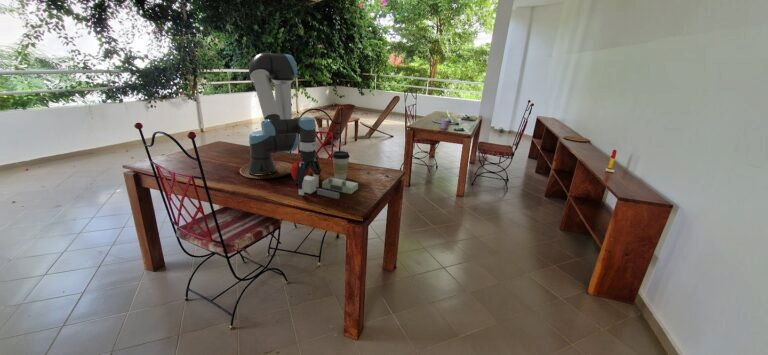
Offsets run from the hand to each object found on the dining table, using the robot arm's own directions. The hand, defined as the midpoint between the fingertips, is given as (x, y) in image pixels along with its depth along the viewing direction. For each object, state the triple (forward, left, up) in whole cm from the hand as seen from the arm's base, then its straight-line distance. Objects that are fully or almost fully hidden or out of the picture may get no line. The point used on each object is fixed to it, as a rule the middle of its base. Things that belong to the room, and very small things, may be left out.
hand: (308, 190), depth 168 cm
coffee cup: (+5, +24, 0) cm, 24 cm away
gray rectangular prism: (0, 0, 0) cm, 0 cm away
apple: (-10, +7, 0) cm, 12 cm away
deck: (+12, +7, 0) cm, 14 cm away
